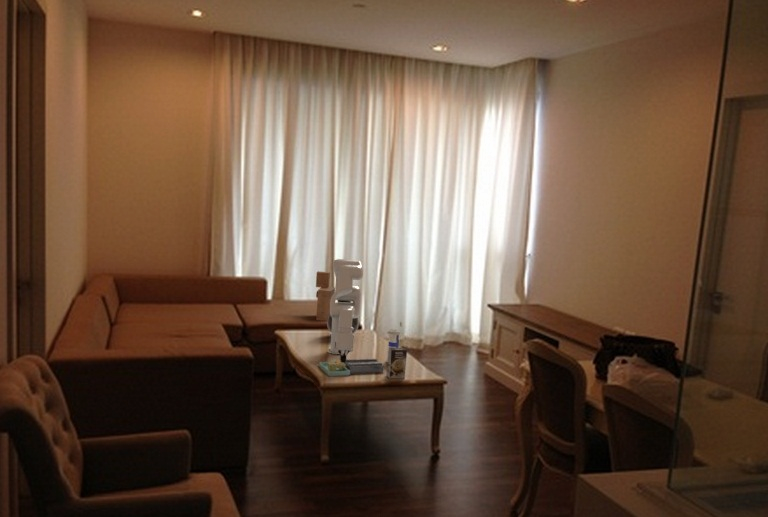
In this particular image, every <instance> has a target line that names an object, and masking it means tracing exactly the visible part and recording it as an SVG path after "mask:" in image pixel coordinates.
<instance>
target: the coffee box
mask: <svg viewBox="0 0 768 517" xmlns="http://www.w3.org/2000/svg"><path fill="white" fill-rule="evenodd" d="M407 355H408V350H407V349H406V348H405V347H399V348H389V352H388V363H386V364H387V365H386V376H387V378H389V379H405V378H406V367H407V366H406V365H407Z"/></svg>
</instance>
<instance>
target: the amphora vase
mask: <svg viewBox="0 0 768 517" xmlns="http://www.w3.org/2000/svg"><path fill="white" fill-rule="evenodd" d="M335 301H336V302H346V303H352V301H342V300H337V299H336V300H335ZM359 323H360V322H359V316H358V317H357V318H353V319H352V328H354V330H352V332H353V339H354V338H355V335H354V334H355V333H356V332H357V330H358V328H359ZM326 326H327V329H328V331H329V332H330V335H329V336H330V338H331V332H332V317H331V315H330V314H329V316H328V320H327V321H326Z"/></svg>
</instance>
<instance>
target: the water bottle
mask: <svg viewBox="0 0 768 517" xmlns="http://www.w3.org/2000/svg"><path fill="white" fill-rule="evenodd" d="M399 327H401V328H402V327H403V323H402V322H399ZM386 333H387V334H388V339H387V341H388V345H387V348H386V358H385V363H386V362H388V352H389V348H400V347H399V346H400V338H399V337H401V331H397V330H396V329H388V330H387V331H386Z"/></svg>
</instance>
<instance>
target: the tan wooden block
mask: <svg viewBox="0 0 768 517" xmlns="http://www.w3.org/2000/svg"><path fill="white" fill-rule="evenodd" d="M336 362H337V363H336V364H337V367H336V368H338V369H340V370H341V371H343V369H344V368H345V366H346V364H344V363H342V362H341V360H340V359H338V360H336Z"/></svg>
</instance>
